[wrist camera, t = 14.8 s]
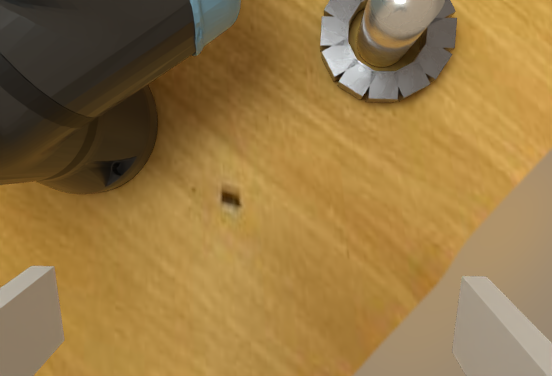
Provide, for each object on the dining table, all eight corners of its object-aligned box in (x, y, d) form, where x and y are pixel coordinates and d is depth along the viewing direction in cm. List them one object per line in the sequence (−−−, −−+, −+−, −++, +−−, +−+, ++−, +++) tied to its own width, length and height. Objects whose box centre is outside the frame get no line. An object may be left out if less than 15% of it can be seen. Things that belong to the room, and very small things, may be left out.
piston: (354, 66, 41) (369, 28, 29) (357, 13, 40) (373, -46, 28) (407, 67, 40) (443, 30, 28) (410, 14, 40) (449, -47, 28)
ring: (317, 100, 41) (317, 96, 39) (324, -25, 40) (324, -37, 38) (442, 104, 40) (450, 100, 38) (452, -25, 39) (461, -37, 37)
